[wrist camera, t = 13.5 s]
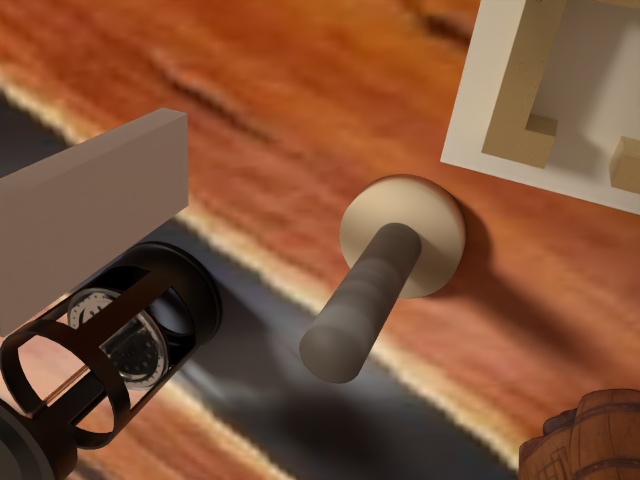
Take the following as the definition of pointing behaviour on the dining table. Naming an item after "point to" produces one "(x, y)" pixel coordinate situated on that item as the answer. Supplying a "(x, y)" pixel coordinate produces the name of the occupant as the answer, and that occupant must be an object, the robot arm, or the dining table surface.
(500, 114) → the brass C-link
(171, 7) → the dining table surface
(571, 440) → the wooden figurine
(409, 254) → the peg stand
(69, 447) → the french press
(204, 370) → the dining table surface
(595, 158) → the felt mat
